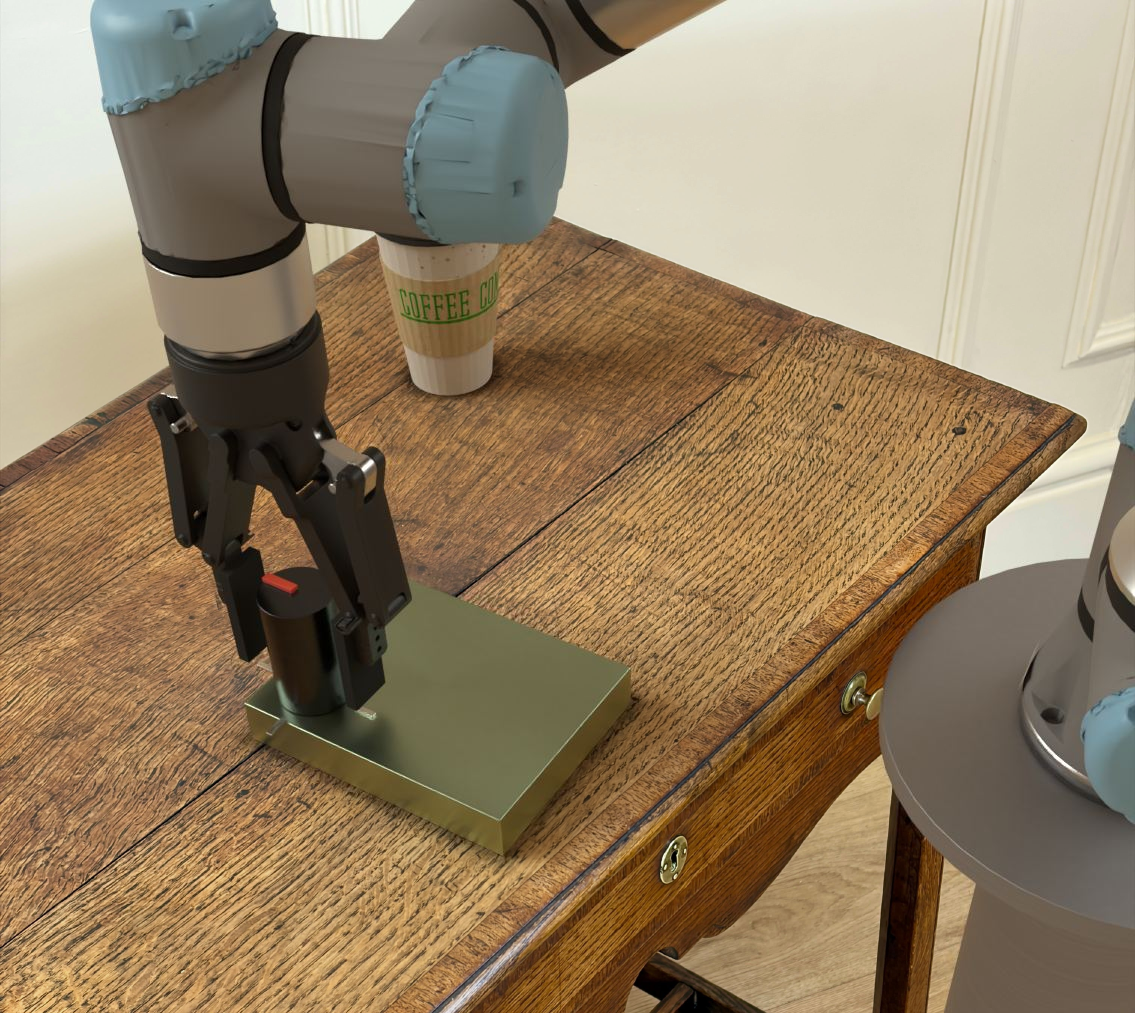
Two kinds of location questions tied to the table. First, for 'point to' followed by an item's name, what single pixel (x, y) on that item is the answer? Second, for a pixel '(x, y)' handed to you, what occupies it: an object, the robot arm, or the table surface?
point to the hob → (460, 719)
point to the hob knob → (301, 640)
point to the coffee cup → (443, 309)
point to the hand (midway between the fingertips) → (311, 670)
